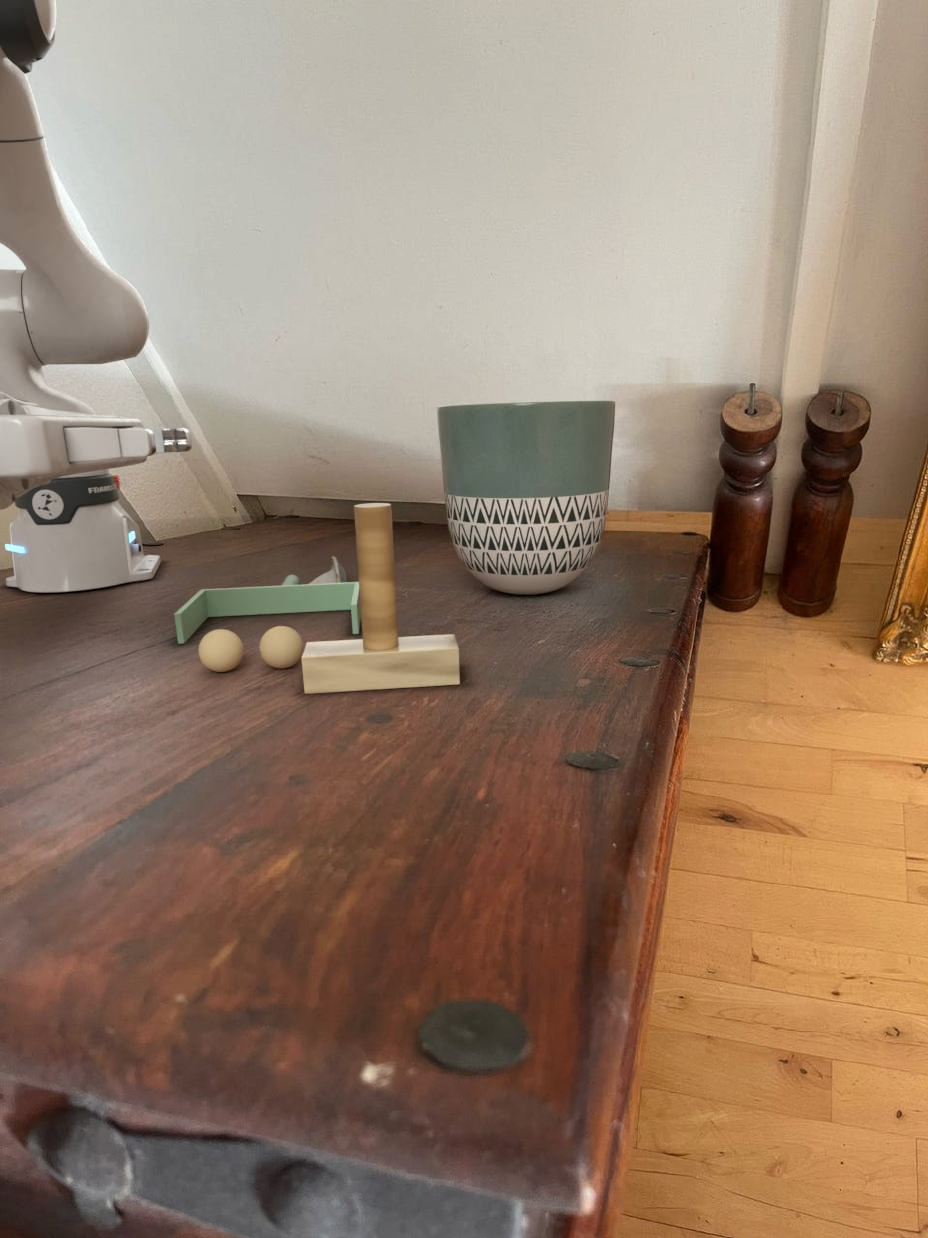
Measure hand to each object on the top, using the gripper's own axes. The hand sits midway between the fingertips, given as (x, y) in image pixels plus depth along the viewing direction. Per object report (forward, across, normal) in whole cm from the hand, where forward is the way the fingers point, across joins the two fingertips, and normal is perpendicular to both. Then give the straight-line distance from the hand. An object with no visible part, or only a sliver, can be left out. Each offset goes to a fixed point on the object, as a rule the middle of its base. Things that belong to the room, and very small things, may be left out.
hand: (172, 440), depth 53 cm
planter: (+31, +29, +19) cm, 47 cm away
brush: (+14, 0, +19) cm, 24 cm away
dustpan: (+3, +24, +19) cm, 31 cm away
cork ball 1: (0, +5, +17) cm, 18 cm away
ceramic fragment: (+8, +35, +19) cm, 41 cm away
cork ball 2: (+5, +5, +17) cm, 19 cm away
